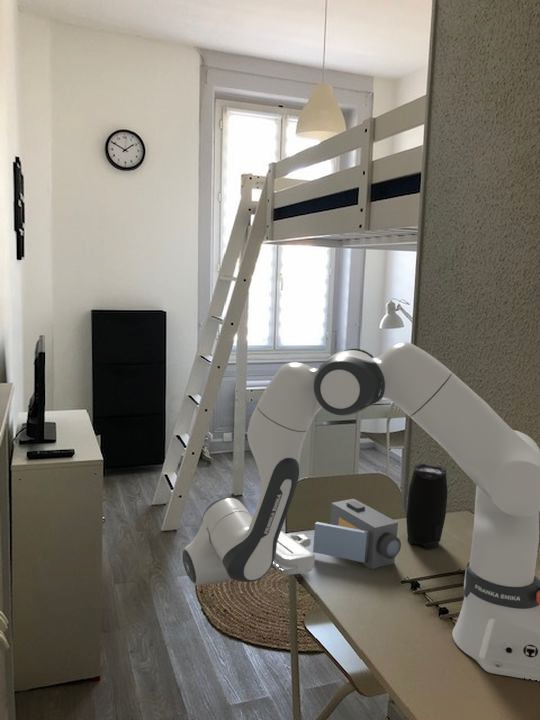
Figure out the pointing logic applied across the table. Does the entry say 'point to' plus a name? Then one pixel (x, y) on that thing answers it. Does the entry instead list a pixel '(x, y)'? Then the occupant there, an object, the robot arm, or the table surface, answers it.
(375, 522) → the camcorder body
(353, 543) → the side panel
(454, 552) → the table surface
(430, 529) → the portable speaker
